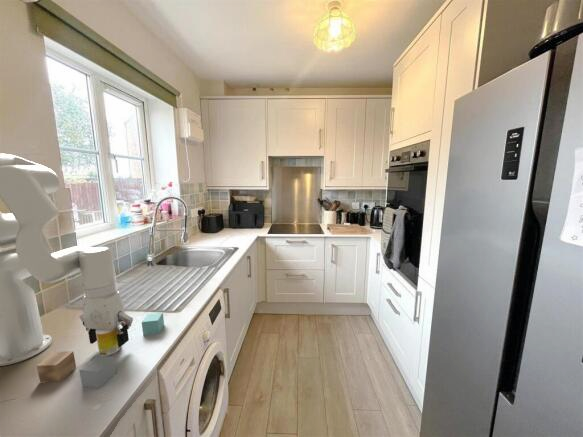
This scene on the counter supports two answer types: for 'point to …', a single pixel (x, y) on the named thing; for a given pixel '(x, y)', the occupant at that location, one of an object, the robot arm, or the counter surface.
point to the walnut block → (56, 366)
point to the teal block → (153, 323)
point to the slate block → (98, 372)
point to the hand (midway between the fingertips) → (109, 342)
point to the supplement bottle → (107, 342)
